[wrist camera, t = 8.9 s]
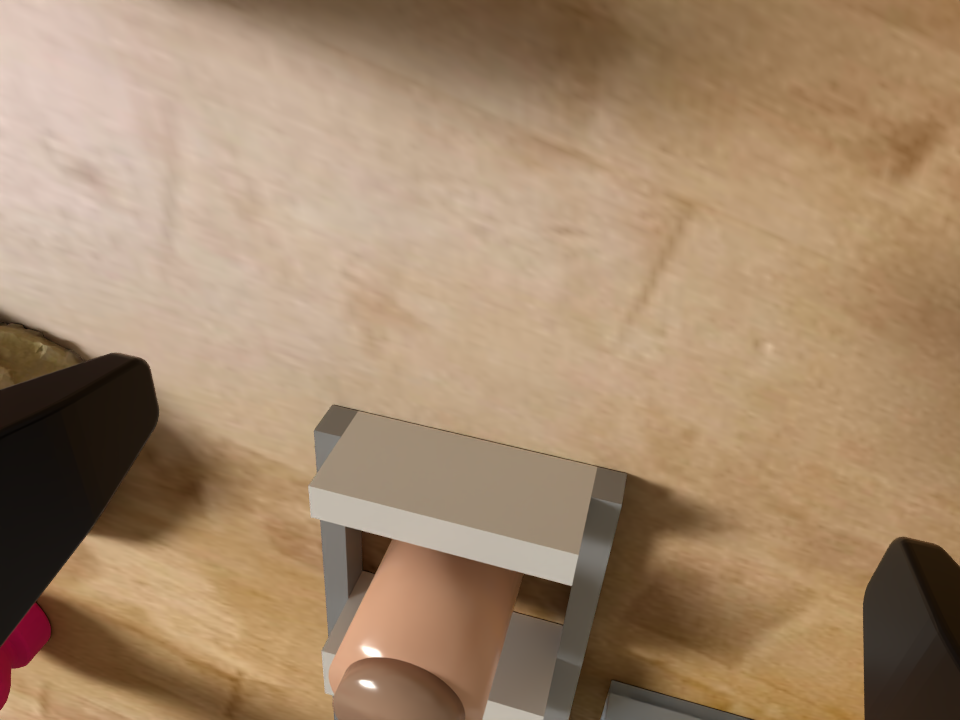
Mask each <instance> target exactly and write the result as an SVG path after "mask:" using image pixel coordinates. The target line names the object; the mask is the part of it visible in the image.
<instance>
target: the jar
mask: <svg viewBox="0 0 960 720" xmlns="http://www.w3.org/2000/svg"><path fill="white" fill-rule="evenodd" d="M523 574H524V573H521V572H517V571H513V570H509V569H505V568H502V567H498V566H494V565H490V564H486V563H483V562H479V561H475V560H471V559H467V558H464V557H460V556H456V555H452V554H449V553H445V552H441V551H437V550H433V549H430V548H426V547H422V546H418V545H414V544H411V543H407V542H403V541H399V540H395V539H392V541H391V543H390V545H389V547H388V549H387V551H386V553H385V555H384V557H383V559H382V561H381V563H380V565H379V567H378V569H377V571H376V573H375V575H374V577H373V579H372V581H371V583H370V586H369V588H368V590H367V592H366V594H365V596H364V598H363V600H362V602H361V604H360V606H359V608H358V610H357V612H356V614H355V616H354V618H353V620H352V622H351V624H350V626H349V628H348V630H347V632H346V634H345V636H344V638H343V641H342V643H341V645H340V647H339V649H338V651H337V653H336V655H335V657H334V659H333V661H332V663H331V665H330V668H329V683H330V686H331V688H332V691H333V693H334V697H333V709H334V712H335V715H336V717H337V718H338V720H482V719H483V715H484V712H485V708H486V705H487V701H488V698H489V694H490V690H491V687H492V683H493V680H494V676H495V673H496V669H497V666H498V662H499V659H500V655H501V652H502V648H503V645H504V641H505V638H506V634H507V631H508V627H509V624H510V620H511V617H512V613H513V609H514V606H515V602H516V599H517V595H518V592H519V588H520V585H521V581H522V578H523Z"/></svg>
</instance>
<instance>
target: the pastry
mask: <svg viewBox="0 0 960 720" xmlns="http://www.w3.org/2000/svg"><path fill="white" fill-rule="evenodd" d="M43 337H44V335H43V334H42V333H41V332H38V331H35V330H31V329H25V328H23V325H19V324H15V323H11V324H9V325H7V324H6V323H3V322H2V323H0V389H3V388H6V387H9V386H12V385H15V384H18V383H21V382H24V381H27V380H30V379H33V378H36V377H39V376H42V375H46V374H49V373H52V372H55V371H58V370H61V369H64V368H67V367H70V366H73V365H76V364H79V363H82V362H84V361H83V360H82V359H81V358H80V357H79V355H77V354H76V353H75V352H74V351H72V350H70V349H66V348H64V347H62V346H60V345H58V344H56V343H54V342H52V341H50V340H47V339H45V338H43ZM94 525H95V524H94ZM92 528H93V527H92Z"/></svg>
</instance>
